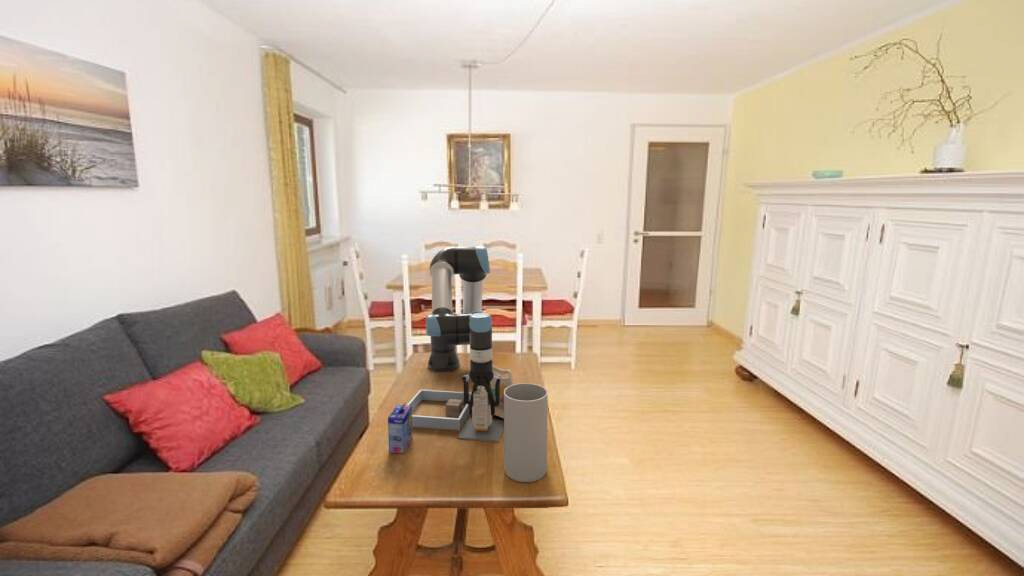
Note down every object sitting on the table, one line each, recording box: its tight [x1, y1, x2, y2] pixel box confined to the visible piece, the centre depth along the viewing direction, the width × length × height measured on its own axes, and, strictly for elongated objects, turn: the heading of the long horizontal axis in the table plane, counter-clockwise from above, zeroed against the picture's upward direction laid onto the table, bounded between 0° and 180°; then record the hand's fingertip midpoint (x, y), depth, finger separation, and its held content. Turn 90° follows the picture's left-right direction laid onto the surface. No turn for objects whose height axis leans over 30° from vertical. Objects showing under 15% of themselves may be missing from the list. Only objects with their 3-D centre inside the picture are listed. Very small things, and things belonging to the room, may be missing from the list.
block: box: [445, 399, 464, 418], centre depth 173 cm, size 5×5×5 cm
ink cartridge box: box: [387, 402, 413, 454], centre depth 150 cm, size 10×6×14 cm, turn 177°
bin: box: [406, 389, 472, 431], centre depth 174 cm, size 23×23×4 cm
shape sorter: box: [490, 364, 514, 419], centre depth 172 cm, size 20×10×18 cm, turn 47°
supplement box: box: [473, 386, 490, 431], centre depth 160 cm, size 8×5×13 cm, turn 174°
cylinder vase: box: [503, 382, 549, 483], centre depth 135 cm, size 12×12×25 cm
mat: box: [457, 417, 504, 443], centre depth 161 cm, size 14×14×1 cm
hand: (482, 422), depth 161 cm, fingers closed on supplement box, 5 cm apart
